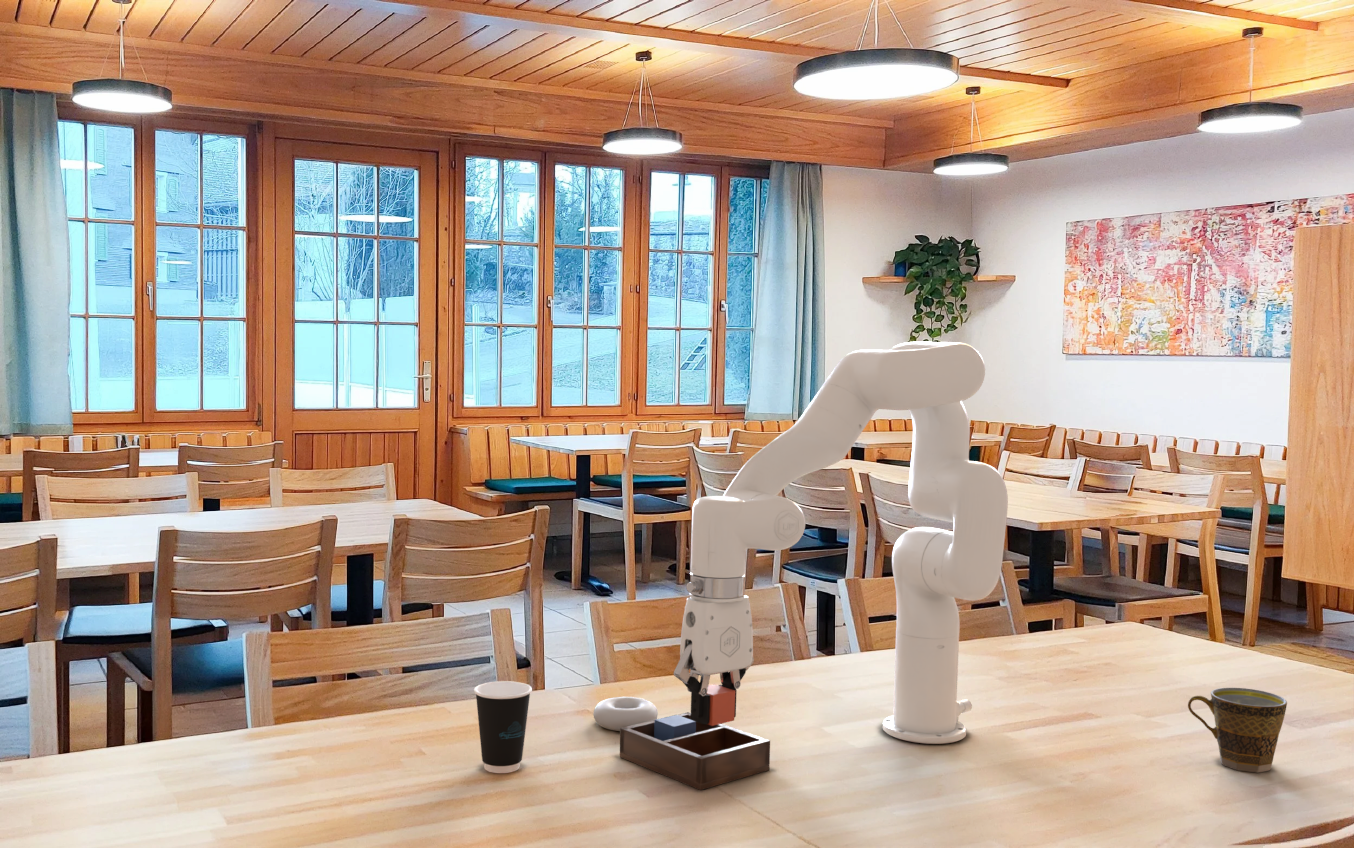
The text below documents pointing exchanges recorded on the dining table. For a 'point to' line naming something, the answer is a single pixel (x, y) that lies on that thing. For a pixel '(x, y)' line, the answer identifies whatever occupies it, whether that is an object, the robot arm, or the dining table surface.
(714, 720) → the terracotta block
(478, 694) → the dixie cup
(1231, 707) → the ceramic cup
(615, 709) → the donut
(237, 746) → the dining table surface
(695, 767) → the sorting tray
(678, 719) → the slate block
